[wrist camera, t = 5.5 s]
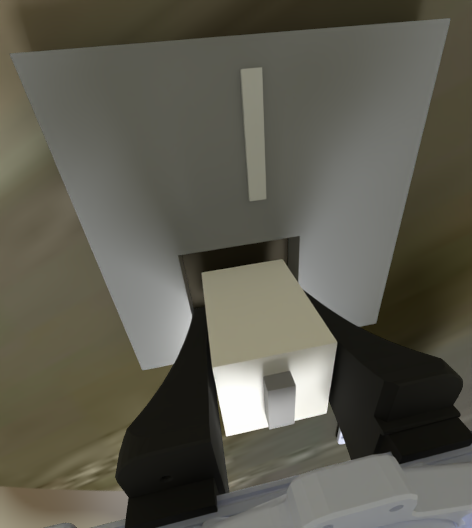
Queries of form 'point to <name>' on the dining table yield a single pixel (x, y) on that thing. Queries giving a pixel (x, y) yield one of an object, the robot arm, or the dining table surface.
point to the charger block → (266, 347)
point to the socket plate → (238, 158)
